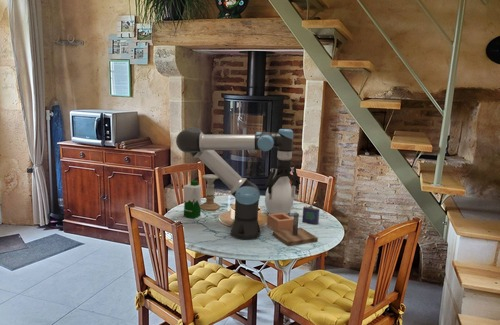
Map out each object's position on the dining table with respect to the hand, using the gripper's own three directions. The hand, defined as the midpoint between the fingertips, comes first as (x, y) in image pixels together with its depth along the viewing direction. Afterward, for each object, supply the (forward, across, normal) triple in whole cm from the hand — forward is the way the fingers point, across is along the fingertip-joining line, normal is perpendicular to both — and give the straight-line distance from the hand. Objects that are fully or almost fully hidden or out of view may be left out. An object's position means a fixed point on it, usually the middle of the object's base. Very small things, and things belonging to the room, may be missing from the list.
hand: (282, 198), depth 199 cm
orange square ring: (+16, 0, 0) cm, 16 cm away
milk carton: (+16, -39, +33) cm, 54 cm away
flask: (+16, +20, +1) cm, 26 cm away
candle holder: (+16, -24, +45) cm, 54 cm away
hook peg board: (+16, -1, -16) cm, 23 cm away
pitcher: (+16, +14, +24) cm, 32 cm away
